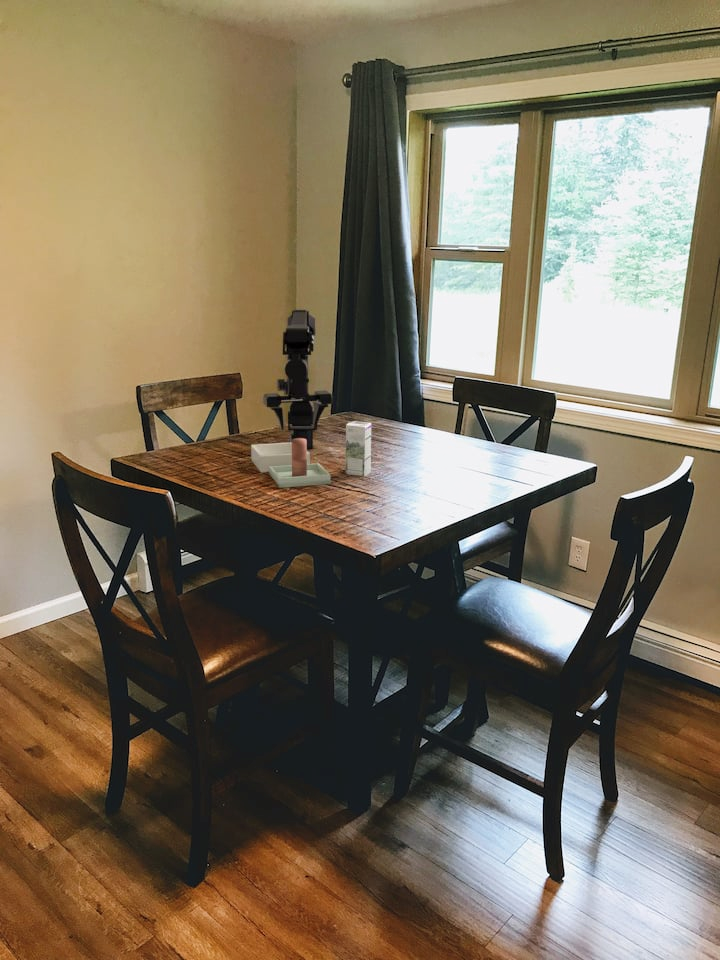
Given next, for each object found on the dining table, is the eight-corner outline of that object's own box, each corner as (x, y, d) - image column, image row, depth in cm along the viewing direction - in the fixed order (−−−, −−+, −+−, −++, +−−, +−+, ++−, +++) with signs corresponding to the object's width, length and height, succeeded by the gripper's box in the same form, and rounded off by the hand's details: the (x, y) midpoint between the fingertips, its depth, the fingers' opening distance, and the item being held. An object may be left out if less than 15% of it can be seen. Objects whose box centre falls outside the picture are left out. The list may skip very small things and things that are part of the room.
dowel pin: (304, 473, 208) (304, 437, 205) (308, 477, 204) (308, 441, 201) (290, 474, 207) (289, 438, 204) (294, 478, 203) (293, 442, 200)
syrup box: (371, 472, 214) (372, 421, 210) (364, 477, 208) (365, 426, 204) (351, 470, 215) (352, 420, 211) (344, 475, 210) (345, 424, 206)
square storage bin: (298, 458, 227) (297, 441, 226) (309, 470, 215) (309, 453, 213) (251, 461, 223) (251, 444, 222) (260, 474, 210) (260, 456, 209)
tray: (318, 471, 213) (318, 463, 213) (330, 483, 202) (330, 474, 202) (269, 475, 209) (269, 466, 208) (278, 487, 198) (278, 478, 197)
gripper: (322, 367, 219) (322, 420, 224) (258, 370, 214) (259, 424, 219) (333, 374, 209) (333, 429, 214) (266, 377, 204) (267, 433, 209)
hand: (298, 428), depth 214 cm, fingers open, 9 cm apart
